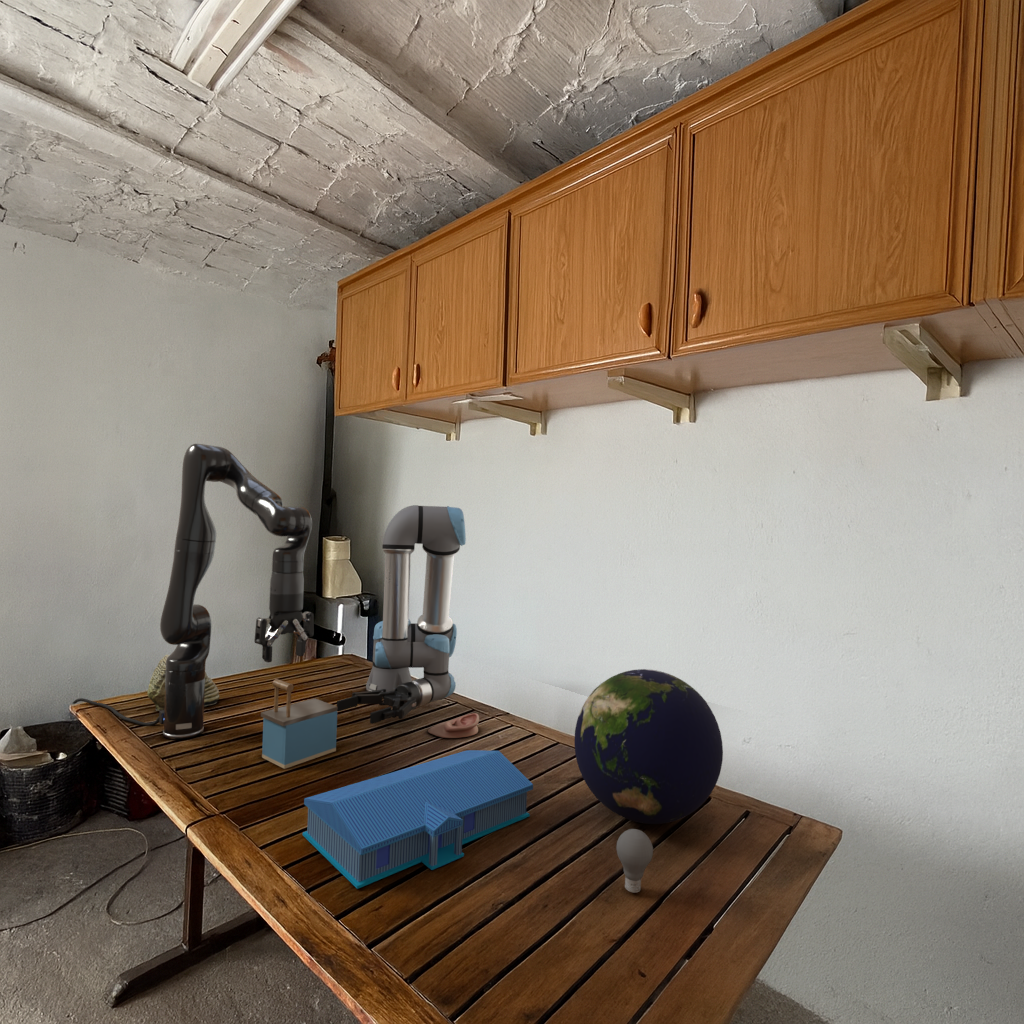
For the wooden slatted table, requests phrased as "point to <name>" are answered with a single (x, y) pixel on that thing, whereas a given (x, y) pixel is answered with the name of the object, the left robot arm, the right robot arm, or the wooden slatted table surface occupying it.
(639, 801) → the globe
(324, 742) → the chest
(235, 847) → the wooden slatted table surface
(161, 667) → the fossil
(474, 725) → the anatomical model
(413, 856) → the model building
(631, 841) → the light bulb
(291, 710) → the lid
